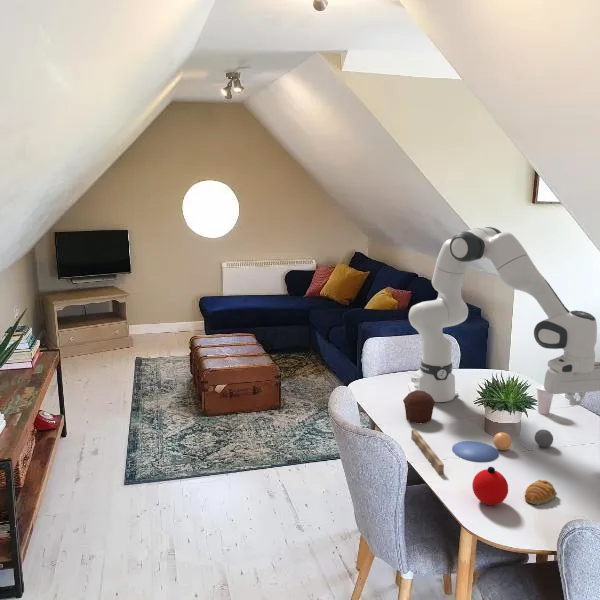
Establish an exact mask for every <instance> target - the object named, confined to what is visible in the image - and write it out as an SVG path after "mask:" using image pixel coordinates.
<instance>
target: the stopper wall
mask: <svg viewBox="0 0 600 600" xmlns="http://www.w3.org/2000/svg"><path fill="white" fill-rule="evenodd" d="M410 437H411V440H412V441H413V442H415V443H414V444H415V445H416V447H417V446H418V447H417V448H418V450H421V451H420V452H421V453H422V455H423V456H424V457H425V459H426V460H427V459H428V460H427V461H428V462H429V464H430V463H431V464H430V466H432V468H433V469H434V470H435V472H436V474H438V475H444V467H445V464H444V463H443V462H442V460H441V459H440V458H439V456H438V455H437V454H436V453H435V451H433V449H432V447H430V445H429V444H428V443H427V442H426V440H425V439H424V438H423V436H422V435H421V433H420V432H419V431H418V430H417V429H411V435H410Z"/></svg>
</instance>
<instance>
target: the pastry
mask: <svg viewBox="0 0 600 600" xmlns="http://www.w3.org/2000/svg"><path fill="white" fill-rule="evenodd" d="M557 495H558V492H557V491H556V488H555V487H554V485H553V483H551V482H549V481H548V480H545V479H542V480H541V479H538V480H536V481H534V482H532V483H530V484H529V485H528V486H527V488H526V490H525V493H524V501H525V502H527V503H529V504H533V505H536V506H539V505H543V504H548V503H549V502H550V501H552V500H554V498H555V497H556V496H557Z"/></svg>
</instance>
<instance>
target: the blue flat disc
mask: <svg viewBox="0 0 600 600" xmlns="http://www.w3.org/2000/svg"><path fill="white" fill-rule="evenodd" d="M451 448H452V452H453V454H454V453H455V454H454V455H455V456H457V457H458V456H459V458H460V457H461V459H463V460H465V459H466V461H470V462H474V461H475V463H488V462H492V461H495V460H496V459H497V458H498V457H499V451H498V450H497V448H496V447H494V446H493V445H490V444H488V443H486V442H482V441H476V440H463V441H458V442H456V443H455V444H453V445H452V447H451Z"/></svg>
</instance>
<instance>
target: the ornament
mask: <svg viewBox="0 0 600 600" xmlns="http://www.w3.org/2000/svg"><path fill="white" fill-rule="evenodd" d="M471 487H472V491H473V494H474V496H475V497H476V499H477V500H478V501H480V502H481V503H483V504H485V505H488V506H497V505H499V504H501V503H503V502H505V500H506V499H507V496H508V494H509V485H508V481H507V479H506V477H505V476H504V475H503V474H502V473H501V472H499V471H497V470H496V469H495V467H494V466H488V467H487V468H486V469H482V470H481V471H479V472H477V474H476V475H475V476H474V477H473V480H472V486H471Z"/></svg>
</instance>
